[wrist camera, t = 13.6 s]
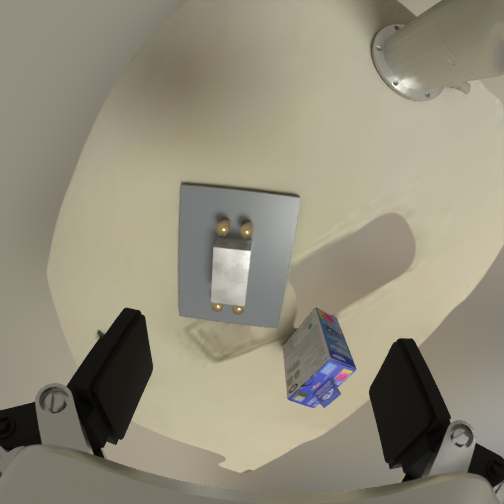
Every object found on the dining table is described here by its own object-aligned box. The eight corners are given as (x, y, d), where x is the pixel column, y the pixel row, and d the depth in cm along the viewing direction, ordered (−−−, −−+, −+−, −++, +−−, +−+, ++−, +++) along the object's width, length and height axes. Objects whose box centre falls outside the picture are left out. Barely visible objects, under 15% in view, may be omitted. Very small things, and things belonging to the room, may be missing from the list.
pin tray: (299, 196, 38) (303, 202, 34) (277, 324, 46) (278, 340, 42) (183, 183, 38) (174, 188, 34) (181, 311, 46) (174, 326, 42)
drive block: (252, 238, 39) (250, 251, 35) (246, 289, 42) (244, 306, 38) (218, 235, 39) (212, 247, 35) (215, 286, 42) (210, 302, 38)
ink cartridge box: (306, 357, 49) (315, 421, 35) (281, 346, 48) (284, 412, 34) (340, 319, 45) (362, 382, 32) (315, 306, 44) (331, 370, 31)
